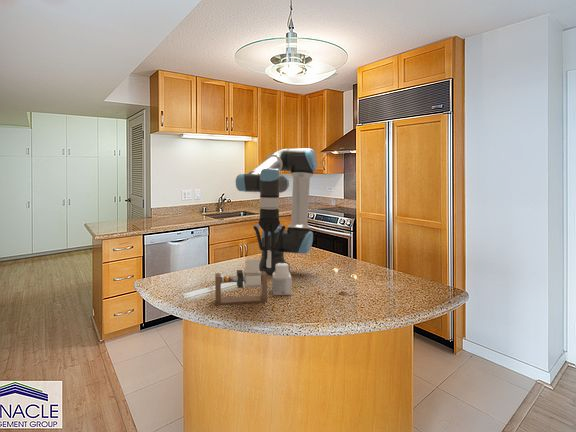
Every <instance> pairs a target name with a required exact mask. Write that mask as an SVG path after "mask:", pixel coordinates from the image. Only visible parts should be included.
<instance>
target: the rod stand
mask: <svg viewBox="0 0 576 432" xmlns="http://www.w3.org/2000/svg"><path fill="white" fill-rule="evenodd" d="M214 274H215V275H214V276H215V277H214V278H215V279H214V282H215V283H214V284H215V285H214V287H215V290H214V292H215V297H214V299H215V300H214V301H215V306H224V305H239V304H240V305H242V304H256V303H257V304H258V303H268V274H267V273H266V271H261V287H259V289H260V292H259V293H260V294H259V295H244V296H243V295H242V296H226V297H225V296H224V297H222V295H221V294H222V292H221V291H222V284H223V283H224V284H225V283H228V284H229V283H237V282H238V276H237V275H231V276H230V275H228V276H227V275H226V276H222V275H221V272H217V273H214ZM244 282H245V276H244V275H243V283H244Z"/></svg>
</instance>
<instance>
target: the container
mask: <svg viewBox="0 0 576 432" xmlns="http://www.w3.org/2000/svg"><path fill="white" fill-rule="evenodd" d="M290 268H291V267H290V263H289V262H287V261H285V262H277V263H275V264H274V272H273V274H272V281H271V282H272V284H271V285H272V287H271V289H272V294H273V295H272V296H287V295H289V296H291V295H292V283H293V282H292V279H293V278H292V275H291V272H290V271H291V270H290Z"/></svg>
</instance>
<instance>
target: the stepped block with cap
mask: <svg viewBox="0 0 576 432" xmlns="http://www.w3.org/2000/svg"><path fill="white" fill-rule="evenodd" d="M259 263H260V258H257V257H256V258H246V259H245V268H246V269H244V270H243V276H245V282H243V285H244V287H245V288H246V289H248V288H249V289H250V288H260V287H261V272H260V270H259Z"/></svg>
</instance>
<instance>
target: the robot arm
mask: <svg viewBox="0 0 576 432" xmlns="http://www.w3.org/2000/svg"><path fill="white" fill-rule="evenodd" d="M316 155H317V154H316V152H315V150H314V149H312V148H306V147H302V148H300V147H299V148H282V149H278V150H276V151H274V152H272V153H271V154H269V155H267V157H266V158H265V160H264V161H263V162H262V163H260V164H258V165H257V166H256V167H255V168H253V169H252V170H251V171H249V172H248V173H239V174H238V175H237V176H236V178H235V187H236V190H237V191H239V192H245V193H259V207H260V209H259V220H258V223H257V224H256V225H252V229H254V231H255V235H256V238H257V239H256V240H257V242H258V243H257V244H258V247H259V250H260V251H261V257H260V259H259V270H260V272H261V271H266V273H267V275H273V272H274V264H275V263H277V262H286V260H285V255H284V253H291V254H299V255H300V254H301V255H302V254H303V255H305V254H308V253H309V252H310V251H311V249H312V245H313V242H314V232H313V231H311V227H310V226H309V225H308V218H309V202H310V200H309V199H310V184H311V183H310V181H311V178H312V177H313V174H314V173H315V172H316V171H317V168H318V162H317V156H316ZM280 172H290V175H291V177H292V193H291V194H292V197H291V214H290V223H289V225H288V226H287V229H286V225H284V224H282V223H281V222H280V209H279V207H280V194H281V193H284V192H286V191H287V190H288V188H289V186H290V180H289V178H288V177H287V176H286V175H284V174H280ZM260 228H261V229H262V232H261V234H260Z"/></svg>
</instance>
